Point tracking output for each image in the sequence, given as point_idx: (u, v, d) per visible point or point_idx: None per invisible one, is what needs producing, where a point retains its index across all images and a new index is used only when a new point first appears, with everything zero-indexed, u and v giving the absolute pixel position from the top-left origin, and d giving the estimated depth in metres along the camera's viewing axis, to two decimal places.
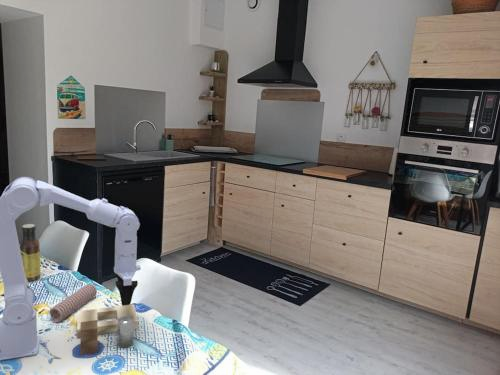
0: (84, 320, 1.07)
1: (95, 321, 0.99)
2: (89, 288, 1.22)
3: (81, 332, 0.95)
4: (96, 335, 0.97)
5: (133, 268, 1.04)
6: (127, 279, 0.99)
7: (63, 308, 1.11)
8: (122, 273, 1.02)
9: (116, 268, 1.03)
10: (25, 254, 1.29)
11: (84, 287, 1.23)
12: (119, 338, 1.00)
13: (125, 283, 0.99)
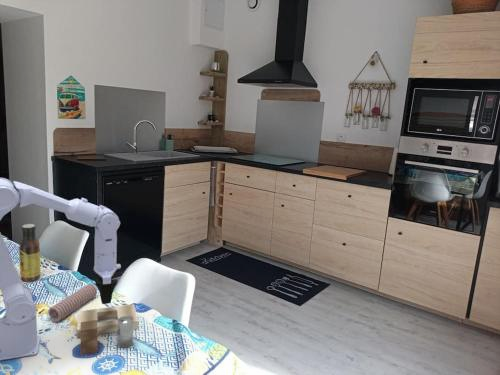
0: (84, 320, 1.07)
1: (95, 321, 0.99)
2: (89, 288, 1.22)
3: (81, 332, 0.95)
4: (96, 335, 0.97)
5: (113, 267, 1.04)
6: (106, 278, 0.99)
7: (62, 308, 1.11)
8: (102, 272, 1.03)
9: (96, 267, 1.03)
10: (25, 254, 1.29)
11: (84, 287, 1.23)
12: (119, 338, 1.00)
13: (104, 282, 0.99)
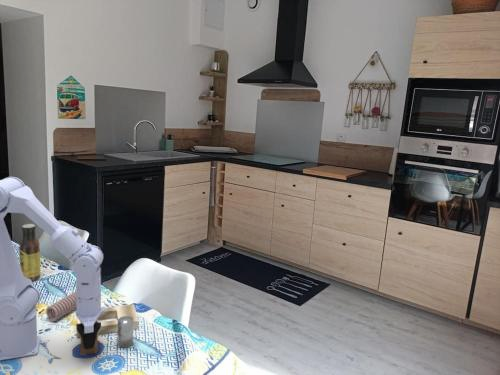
0: None
1: None
2: None
3: None
4: None
5: (97, 311, 0.95)
6: (88, 326, 0.90)
7: (59, 307, 1.11)
8: (84, 318, 0.94)
9: (78, 312, 0.94)
10: (25, 254, 1.29)
11: None
12: (119, 338, 1.00)
13: (86, 330, 0.90)
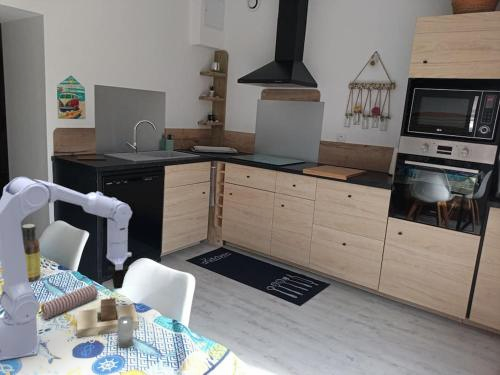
0: (84, 320, 1.07)
1: (113, 299, 1.11)
2: (89, 289, 1.22)
3: (102, 308, 1.07)
4: (115, 311, 1.09)
5: (124, 254, 1.12)
6: (118, 264, 1.07)
7: (52, 306, 1.11)
8: (114, 259, 1.10)
9: (108, 254, 1.11)
10: (25, 254, 1.29)
11: (85, 287, 1.23)
12: (119, 338, 1.00)
13: (117, 268, 1.07)
